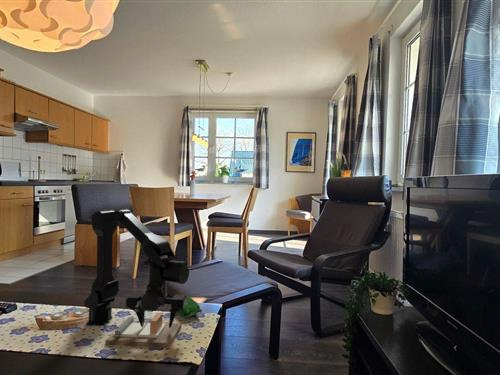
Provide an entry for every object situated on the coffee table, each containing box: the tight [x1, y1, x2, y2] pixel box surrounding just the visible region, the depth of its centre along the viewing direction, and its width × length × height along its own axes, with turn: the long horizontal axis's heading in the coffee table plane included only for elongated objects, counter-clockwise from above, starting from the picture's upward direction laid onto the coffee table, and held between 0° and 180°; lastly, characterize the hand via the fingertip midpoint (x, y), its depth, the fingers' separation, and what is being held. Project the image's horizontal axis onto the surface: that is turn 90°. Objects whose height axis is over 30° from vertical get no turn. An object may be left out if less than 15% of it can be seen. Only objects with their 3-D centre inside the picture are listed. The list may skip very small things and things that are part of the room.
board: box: [104, 320, 182, 349], centre depth 98 cm, size 20×13×2 cm, turn 88°
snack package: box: [177, 295, 202, 319], centre depth 116 cm, size 7×16×5 cm, turn 35°
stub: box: [139, 312, 166, 338], centre depth 98 cm, size 6×8×5 cm
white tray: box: [112, 316, 147, 337], centre depth 98 cm, size 8×10×2 cm
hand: (156, 327), depth 98 cm, fingers open, 9 cm apart
